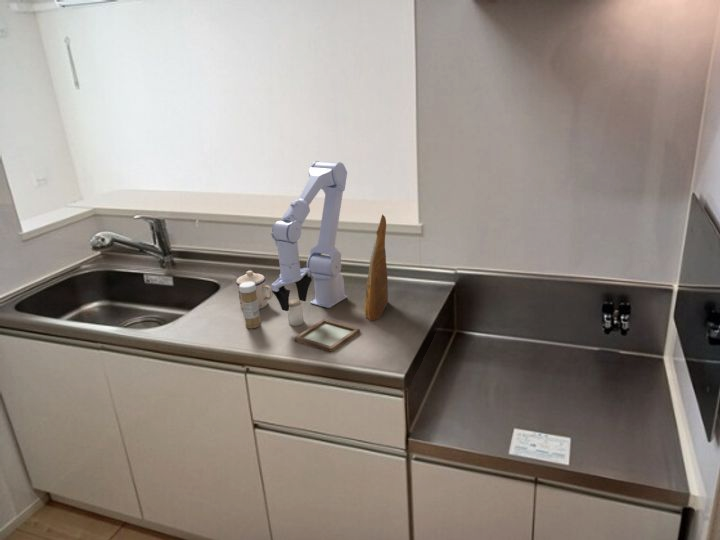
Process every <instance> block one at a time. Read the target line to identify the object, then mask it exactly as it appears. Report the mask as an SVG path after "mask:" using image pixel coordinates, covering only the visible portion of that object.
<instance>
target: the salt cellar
mask: <svg viewBox="0 0 720 540" xmlns="http://www.w3.org/2000/svg"><path fill="white" fill-rule="evenodd" d="M287 318H288V325H290V326H294V327H295V326H296V327H297V326H301V325H303V324H304V323H305V321H304V313H303V303H302V301H301V300H299V299H295V298H294V299H289V310H288V311H287Z"/></svg>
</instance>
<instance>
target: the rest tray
mask: <svg viewBox="0 0 720 540" xmlns="http://www.w3.org/2000/svg"><path fill="white" fill-rule="evenodd" d="M360 333H361V330H360V328H358V327H354V326H351V325H347V324H344V323H340V322H338V321H337V322H336V321H334V320H330V319H326V318H323V319H321V320H320V321H318V322H316V323H315V324H313V325H312V326H310V327H309V328H307V329H305V330H304V331H302V332H301V333H299V334H298V335H296V336H294V341H295V342H297V343H301V344H303V345H306V346H309V347H312V348H316V349H318V350H321V351H325V352H329V353H333V352H334V351H336V350H338V349H339V348H340V347H342V346H343V345H344V344H346V343H347V342H349V341H350V340H352V339H353V338H355V337H356V336H357V335H359V334H360Z"/></svg>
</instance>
